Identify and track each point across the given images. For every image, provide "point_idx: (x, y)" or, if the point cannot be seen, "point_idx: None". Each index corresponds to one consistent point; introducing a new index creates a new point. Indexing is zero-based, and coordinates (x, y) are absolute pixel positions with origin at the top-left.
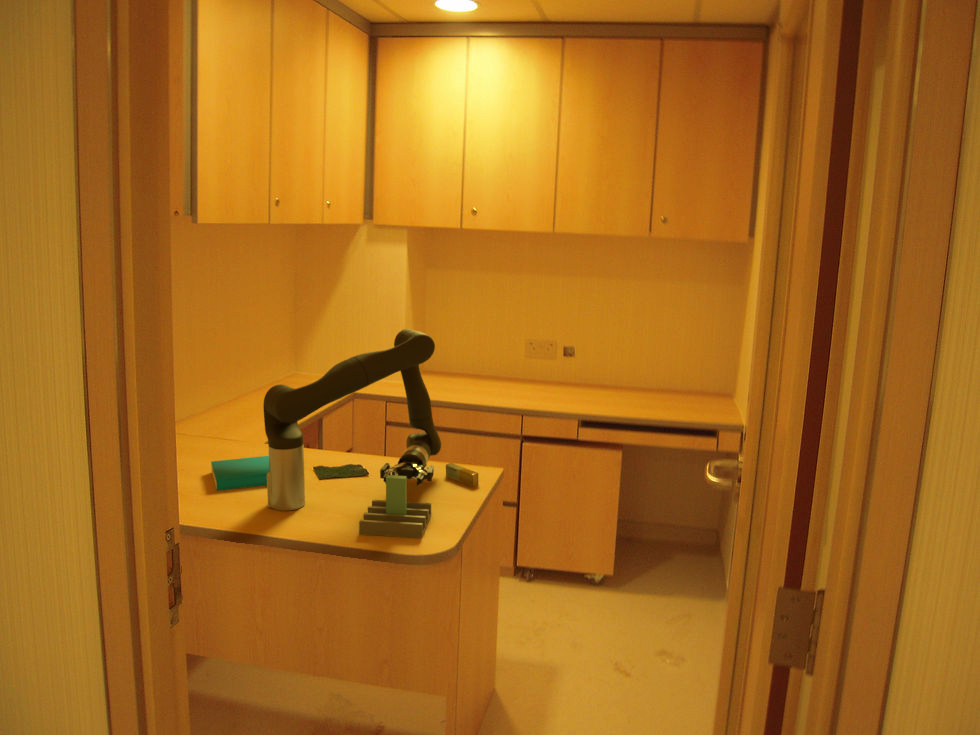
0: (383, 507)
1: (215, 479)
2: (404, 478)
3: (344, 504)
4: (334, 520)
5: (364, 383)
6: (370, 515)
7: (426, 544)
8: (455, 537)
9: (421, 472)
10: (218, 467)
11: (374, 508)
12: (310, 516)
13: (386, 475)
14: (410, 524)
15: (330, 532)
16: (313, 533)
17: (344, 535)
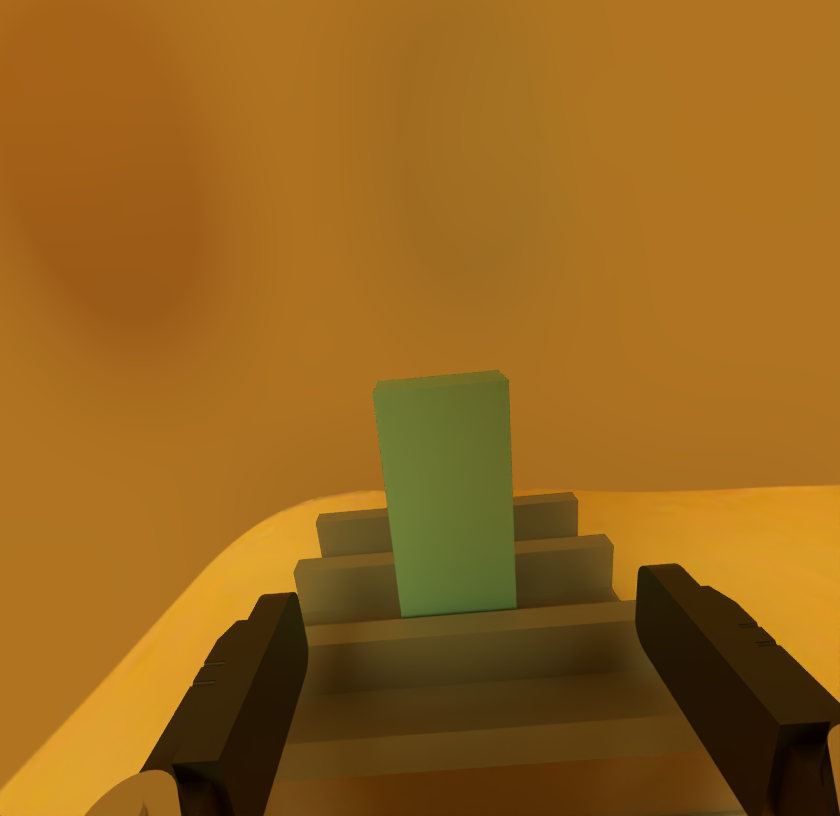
0: (559, 616)
1: None
2: (382, 382)
3: None
4: (817, 624)
5: None
6: (568, 540)
7: (315, 532)
8: (192, 588)
9: (153, 805)
10: None
11: (610, 605)
12: None
13: (680, 575)
14: (365, 511)
15: (687, 532)
16: (736, 517)
17: (616, 526)
